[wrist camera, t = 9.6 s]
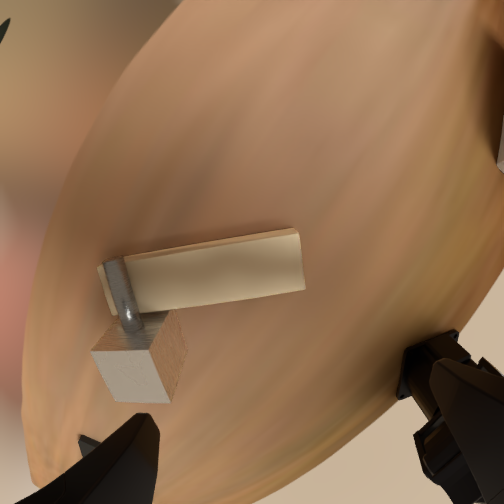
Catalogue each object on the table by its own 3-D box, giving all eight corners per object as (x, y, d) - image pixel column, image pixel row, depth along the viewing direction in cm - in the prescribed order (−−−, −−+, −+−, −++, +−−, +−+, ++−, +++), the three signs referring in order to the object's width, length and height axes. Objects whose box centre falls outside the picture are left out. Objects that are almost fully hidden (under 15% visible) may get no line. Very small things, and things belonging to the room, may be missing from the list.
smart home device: (137, 464, 23) (140, 509, 27) (140, 454, 24) (141, 502, 29) (75, 439, 22) (95, 492, 27) (80, 430, 24) (97, 486, 28)
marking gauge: (187, 350, 20) (171, 403, 14) (141, 353, 20) (115, 401, 14) (158, 242, 18) (122, 268, 12) (109, 251, 18) (62, 278, 12)
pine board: (299, 278, 19) (305, 289, 17) (122, 304, 19) (112, 315, 17) (293, 227, 18) (298, 233, 16) (109, 259, 18) (96, 267, 16)
